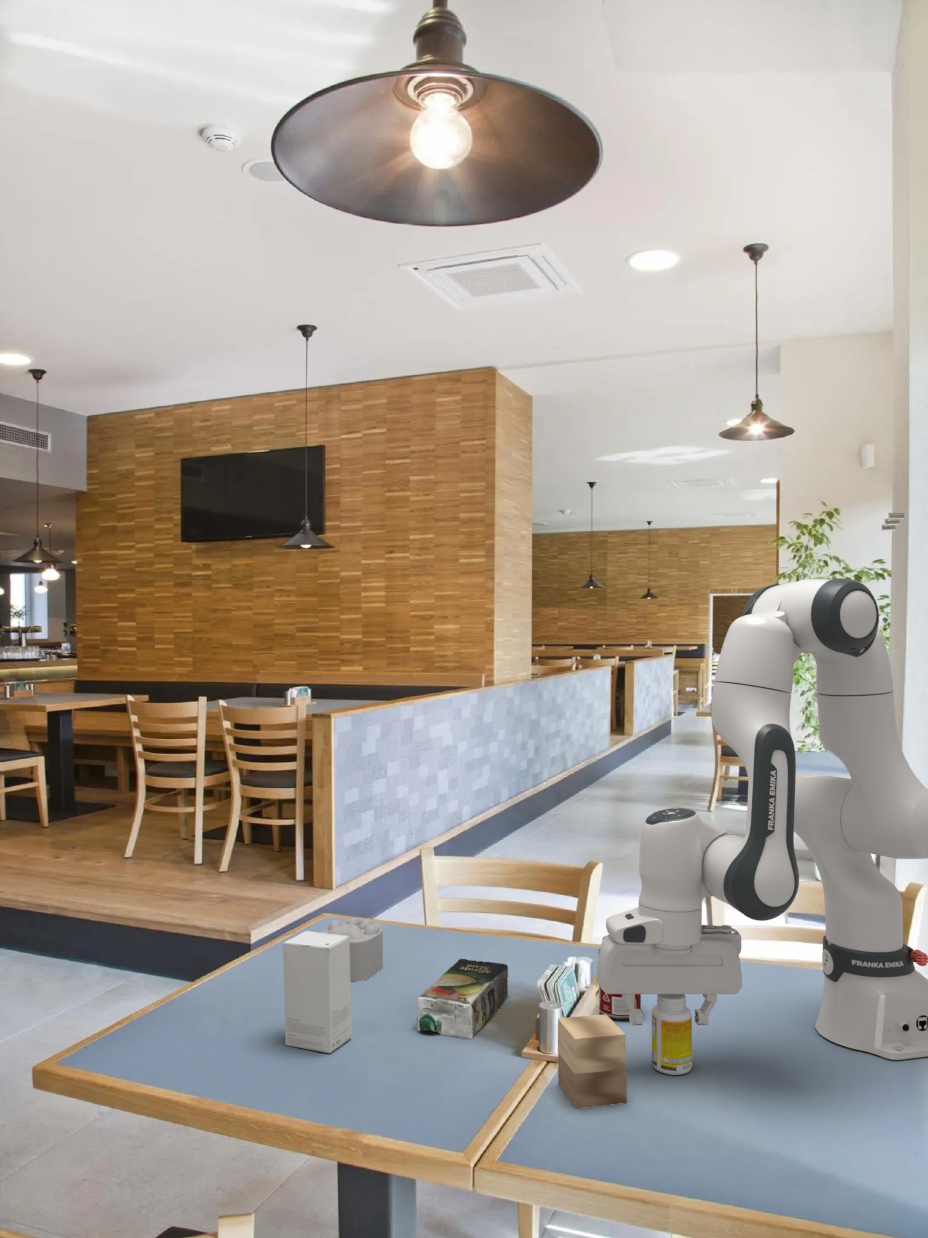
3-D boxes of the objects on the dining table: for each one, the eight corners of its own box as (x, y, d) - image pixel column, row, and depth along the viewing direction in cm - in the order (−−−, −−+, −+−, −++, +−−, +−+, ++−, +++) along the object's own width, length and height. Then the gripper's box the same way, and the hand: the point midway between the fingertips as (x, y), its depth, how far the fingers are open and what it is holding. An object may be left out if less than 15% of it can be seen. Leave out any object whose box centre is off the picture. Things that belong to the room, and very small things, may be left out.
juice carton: (473, 1043, 142) (472, 1002, 142) (412, 1035, 145) (412, 995, 145) (510, 999, 160) (510, 962, 161) (456, 992, 164) (456, 957, 164)
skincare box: (352, 1039, 142) (353, 935, 143) (328, 1056, 136) (329, 948, 137) (306, 1030, 146) (307, 928, 146) (280, 1046, 140) (282, 940, 140)
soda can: (640, 1024, 149) (640, 947, 149) (597, 1020, 150) (597, 944, 151) (641, 1008, 155) (640, 934, 156) (599, 1005, 157) (599, 932, 157)
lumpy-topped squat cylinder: (312, 977, 170) (312, 929, 170) (343, 955, 182) (343, 910, 182) (364, 984, 166) (365, 934, 167) (393, 961, 179) (393, 915, 179)
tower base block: (606, 1081, 129) (606, 1047, 130) (626, 1104, 123) (626, 1069, 123) (558, 1086, 128) (558, 1052, 128) (575, 1110, 121) (575, 1075, 121)
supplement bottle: (700, 1071, 132) (700, 997, 132) (671, 1080, 129) (671, 1005, 130) (672, 1056, 137) (671, 985, 137) (643, 1065, 134) (643, 992, 134)
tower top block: (606, 1047, 130) (606, 1014, 130) (625, 1069, 123) (625, 1034, 123) (557, 1052, 128) (557, 1018, 128) (574, 1074, 121) (574, 1039, 121)
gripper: (733, 919, 137) (732, 1015, 137) (595, 918, 136) (593, 1015, 135) (749, 931, 131) (748, 1032, 130) (604, 931, 130) (603, 1033, 129)
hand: (668, 1024), depth 133 cm, fingers open, 8 cm apart
